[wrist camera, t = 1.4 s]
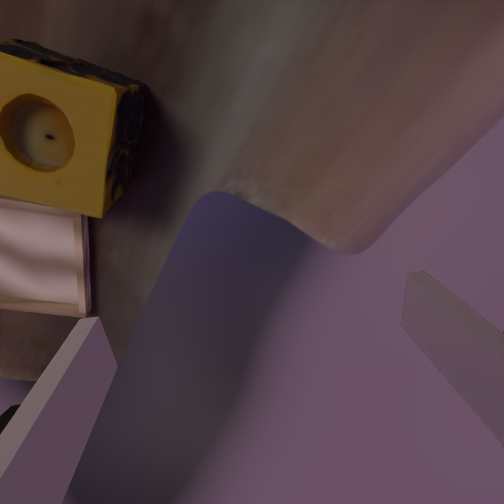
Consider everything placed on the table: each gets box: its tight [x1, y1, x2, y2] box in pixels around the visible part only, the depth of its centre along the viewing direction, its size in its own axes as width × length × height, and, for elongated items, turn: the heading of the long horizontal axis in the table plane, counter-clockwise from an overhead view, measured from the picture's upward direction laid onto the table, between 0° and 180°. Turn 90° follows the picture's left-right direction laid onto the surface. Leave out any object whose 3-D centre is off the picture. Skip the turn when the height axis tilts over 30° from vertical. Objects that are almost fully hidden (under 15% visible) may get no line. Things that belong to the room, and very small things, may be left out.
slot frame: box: [0, 195, 91, 318], centre depth 35 cm, size 15×15×2 cm
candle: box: [0, 39, 148, 219], centre depth 25 cm, size 10×10×10 cm
